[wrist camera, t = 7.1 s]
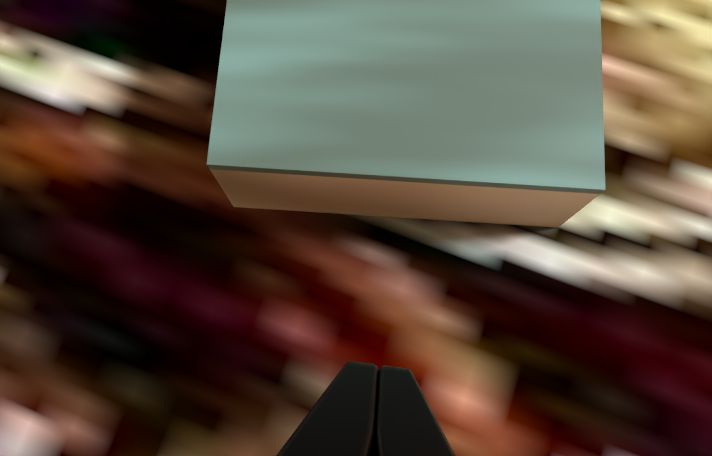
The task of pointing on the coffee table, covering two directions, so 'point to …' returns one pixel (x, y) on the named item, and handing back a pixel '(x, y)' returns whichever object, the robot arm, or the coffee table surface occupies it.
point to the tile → (411, 108)
